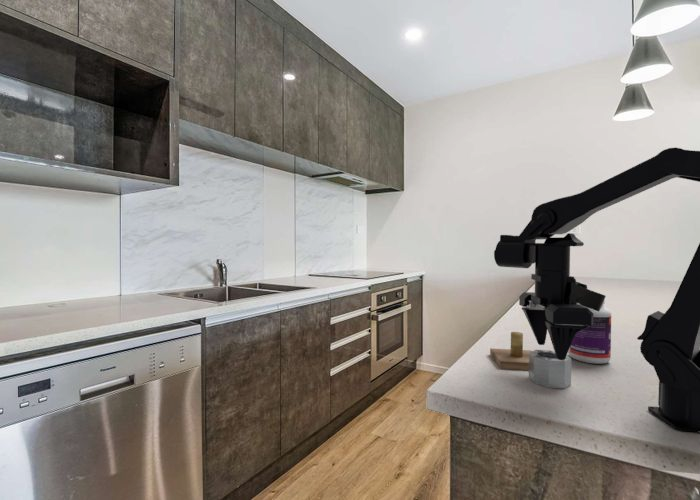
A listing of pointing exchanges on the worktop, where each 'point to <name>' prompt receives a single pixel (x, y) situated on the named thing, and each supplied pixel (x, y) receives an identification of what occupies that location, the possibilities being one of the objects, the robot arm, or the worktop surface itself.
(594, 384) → the worktop surface
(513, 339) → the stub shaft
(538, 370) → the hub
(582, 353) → the pill bottle
